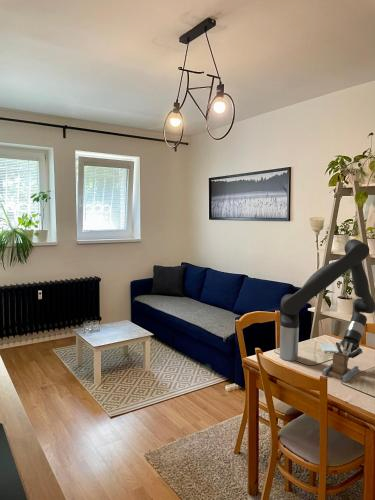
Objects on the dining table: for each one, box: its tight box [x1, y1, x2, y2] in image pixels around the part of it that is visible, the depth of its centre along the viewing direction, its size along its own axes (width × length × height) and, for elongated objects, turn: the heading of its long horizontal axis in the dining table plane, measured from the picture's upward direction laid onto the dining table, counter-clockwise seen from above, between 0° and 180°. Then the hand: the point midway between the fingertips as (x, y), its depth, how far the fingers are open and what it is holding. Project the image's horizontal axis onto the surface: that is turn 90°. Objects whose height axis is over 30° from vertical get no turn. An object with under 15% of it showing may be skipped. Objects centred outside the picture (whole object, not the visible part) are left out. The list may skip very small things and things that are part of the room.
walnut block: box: [327, 352, 349, 381], centre depth 172 cm, size 9×6×10 cm, turn 135°
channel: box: [321, 362, 359, 383], centre depth 174 cm, size 16×10×2 cm, turn 135°
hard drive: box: [318, 342, 339, 354], centre depth 205 cm, size 2×8×12 cm
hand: (343, 363), depth 175 cm, fingers closed
